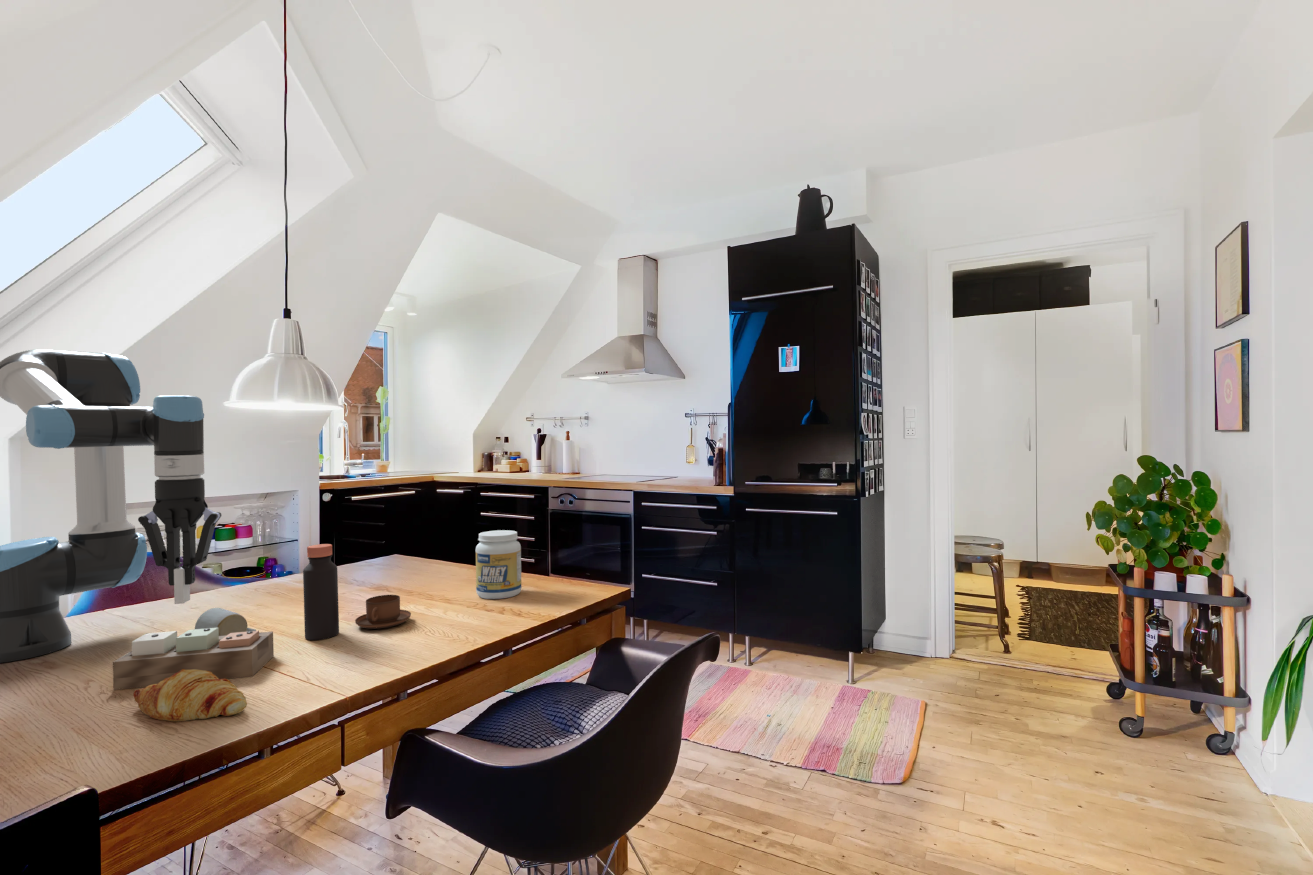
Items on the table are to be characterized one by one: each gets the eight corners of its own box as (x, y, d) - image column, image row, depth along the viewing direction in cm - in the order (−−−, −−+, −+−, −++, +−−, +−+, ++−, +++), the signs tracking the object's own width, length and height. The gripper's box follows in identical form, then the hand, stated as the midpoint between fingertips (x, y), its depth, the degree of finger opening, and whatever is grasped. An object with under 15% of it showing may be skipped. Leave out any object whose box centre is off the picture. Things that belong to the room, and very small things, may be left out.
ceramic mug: (216, 651, 132) (216, 615, 132) (194, 646, 135) (193, 612, 135) (264, 637, 141) (264, 604, 141) (242, 633, 144) (242, 600, 144)
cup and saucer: (411, 628, 145) (410, 601, 145) (353, 635, 140) (352, 608, 140) (410, 614, 156) (410, 589, 156) (357, 621, 152) (356, 595, 152)
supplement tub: (472, 601, 167) (470, 537, 167) (480, 589, 179) (479, 530, 179) (519, 599, 168) (517, 535, 168) (524, 587, 180) (523, 528, 180)
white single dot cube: (132, 660, 115) (131, 640, 115) (147, 651, 120) (146, 632, 120) (163, 657, 117) (163, 637, 117) (177, 648, 121) (177, 629, 121)
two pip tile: (176, 656, 117) (175, 636, 117) (189, 647, 122) (188, 628, 122) (207, 653, 118) (206, 634, 118) (219, 645, 123) (218, 626, 123)
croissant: (260, 729, 103) (277, 677, 107) (212, 725, 95) (233, 669, 98) (151, 718, 107) (171, 669, 111) (96, 714, 99) (120, 660, 102)
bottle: (346, 631, 143) (343, 543, 143) (322, 641, 136) (320, 549, 136) (321, 630, 145) (319, 542, 145) (297, 639, 138) (294, 548, 138)
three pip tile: (219, 659, 119) (219, 639, 119) (230, 650, 124) (230, 631, 123) (249, 656, 120) (248, 637, 120) (259, 648, 125) (258, 629, 125)
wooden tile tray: (113, 689, 112) (112, 661, 112) (147, 667, 123) (146, 642, 123) (252, 676, 117) (251, 649, 117) (273, 655, 128) (273, 631, 128)
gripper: (128, 480, 114) (131, 610, 115) (211, 478, 118) (213, 604, 118) (149, 476, 121) (152, 599, 122) (227, 475, 125) (229, 594, 125)
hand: (182, 601), depth 120 cm, fingers closed
